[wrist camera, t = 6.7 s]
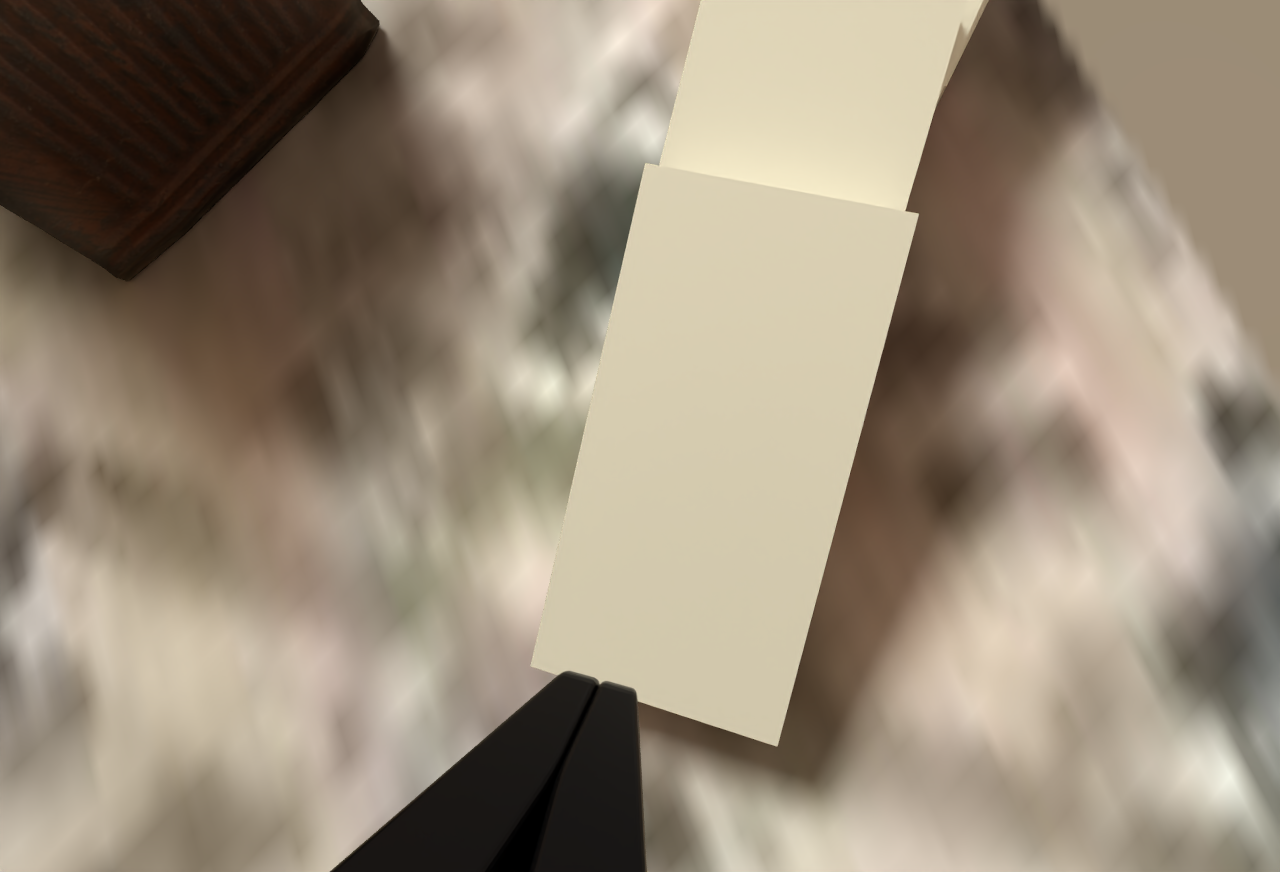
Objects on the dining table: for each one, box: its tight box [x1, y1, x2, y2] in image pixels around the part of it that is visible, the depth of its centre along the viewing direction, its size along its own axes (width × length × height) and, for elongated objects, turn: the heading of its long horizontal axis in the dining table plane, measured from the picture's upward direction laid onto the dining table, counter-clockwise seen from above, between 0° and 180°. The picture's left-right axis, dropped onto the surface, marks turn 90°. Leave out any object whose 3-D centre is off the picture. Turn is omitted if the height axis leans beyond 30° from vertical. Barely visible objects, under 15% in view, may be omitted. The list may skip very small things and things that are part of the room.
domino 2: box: [531, 163, 919, 746], centre depth 15 cm, size 2×5×10 cm
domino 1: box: [659, 0, 967, 211], centre depth 16 cm, size 2×5×10 cm
